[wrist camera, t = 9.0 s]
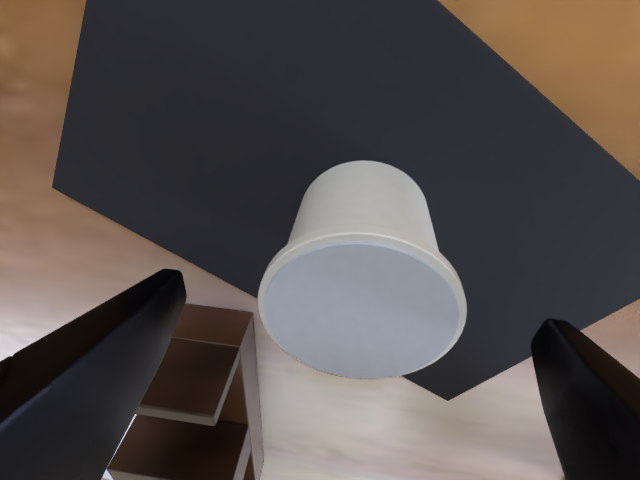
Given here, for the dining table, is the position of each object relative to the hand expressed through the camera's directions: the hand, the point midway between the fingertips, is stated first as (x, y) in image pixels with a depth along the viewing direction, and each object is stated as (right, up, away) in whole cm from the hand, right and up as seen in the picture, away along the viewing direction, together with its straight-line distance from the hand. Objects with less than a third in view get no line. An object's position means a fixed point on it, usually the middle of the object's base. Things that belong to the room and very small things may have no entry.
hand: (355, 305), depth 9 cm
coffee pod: (+1, +2, +3) cm, 4 cm away
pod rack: (-7, -8, +12) cm, 16 cm away
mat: (+1, +3, +4) cm, 5 cm away
